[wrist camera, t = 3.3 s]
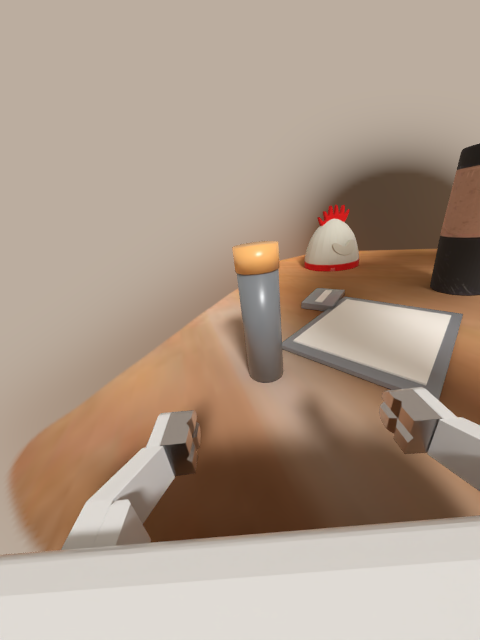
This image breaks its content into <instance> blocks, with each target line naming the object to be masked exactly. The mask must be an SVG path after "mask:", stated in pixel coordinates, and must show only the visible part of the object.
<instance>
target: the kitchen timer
mask: <svg viewBox="0 0 480 640" xmlns="http://www.w3.org/2000/svg"><path fill="white" fill-rule="evenodd" d="M344 208H345V205H342V206H341V209H340V212H338V206H337V205H335V208H334V213H333V209H332V206H329V210H328V215H327V213H326V212H323V215H324V221H322V220H321V218H320V217H318V221H319V224H320V227H319V228H318V229H317V230H316V231H315V233H314V234H313V236H312V238H311V240H310V242H309V245H308V248H307V251H306V255H305V268H307V269H309V270H314V271H340V270H347V269H351V268H354V267H357V266H358V263H359V252H358V247H357V243H356V239H355V236H354V234H353V232H352V230H351V229H350V228H349V227H348V225H347V224H345V223H344V222H345V220H346V218H347V216H348V213H349V210H347V211H346V212H345V214H344V210H345V209H344Z"/></svg>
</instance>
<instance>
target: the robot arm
mask: <svg viewBox="0 0 480 640" xmlns="http://www.w3.org/2000/svg"><path fill="white" fill-rule="evenodd" d="M382 399H383V401H384V402H383V403H382V404H381V405H380V409H379V414H380V419H381V421H382V423H383V425H384V426H385V427H386V429H387V430H389V431H391V432H392V433H394V440H395V442H396V443H397V444H398V446H399V447H400V448H401V450H402V451H403V453H404V454H415V453H427V454H428V455H429V456H431V457H432V458H434V459H435V460H436V461H438V462H439V463H441V464H442V465H443V466H445V467H446V468H448V469H449V470H450V471H452V472H453V473H455V474H456V475H458V476H459V477H460V478H462V479H463V480H465V481H466V482H467V483H469V484H470V485H472V486H473V487H474V488H476V489H477V490H479V491H480V425H478V424H476V423H473V422H471V421H469V420H467V419H465V418H462V417H456V416H455V415H454V414H453V413H452V412H451V411H450V410H449V409H448V408H446V407H445V406H444V405H443V404H442V403H441V402H440V401H439V400H438V399H436V398H435V397H434V396H433V395H432V394H431V393H430V392H429V391H427V390H426V389H425V388H423V387H417V388H409V389H398V390H389V391H384V392H383V393H382ZM196 420H197V415H196V412H195V411H181V412H171V413H161V414H160V415H159V416H158V418H157V421H156V423H155V426H154V428H153V431H152V433H151V436H150V438H149V441H148V444H147V446H146V448H142V449H141V450H140V451H139V452H138V453H137V454H136V455H135V456H134V457H132V458H131V459H130V460H129V461H128V462H127V463H126V464H125V465H124V466H123V467H122V468H121V469H120V470H119V471H118V472H117V473H116V474H115V475H114V476H113V477H112V478H111V479H110V480H109V481H107V482H106V483H105V484H104V485H103V486H102V487H101V488H100V489H99V490H98V491H97V492H96V493H95V494H94V495H93V496H92V497H91V498H90V499H89V500H88V501H87V502H86V503H85V505H84V507H83V509H82V511H81V513H80V515H79V517H78V519H77V520H76V522H75V524H74V526H73V528H72V530H71V532H70V534H69V536H68V537H67V539H66V541H65V543H64V545H63V547H62V549H61V550H55V551H43V552H31V553H19V554H6V555H0V640H480V516H468V517H456V518H443V519H431V520H419V521H407V522H394V523H382V524H370V525H358V526H346V527H333V528H321V529H309V530H297V531H285V532H273V533H261V534H249V535H237V536H225V537H212V538H200V539H188V540H176V541H164V542H152V543H151V539H150V537H149V535H148V533H147V531H146V530H145V528H144V526H143V523H144V522H145V520H146V519H147V517H148V516H149V514H150V513H151V511H152V510H153V509H154V507H155V506H156V504H157V503H158V501H159V500H160V498H161V497H162V495H163V494H164V493H165V491H166V490H167V488H168V487H169V485H170V484H171V482H172V481H173V479H174V478H175V476H178V475H186V474H194V473H196V467H197V461H198V455H197V452H196V451H197V450H198V448H199V447H200V441H201V431H200V426H199V423H197V422H196Z"/></svg>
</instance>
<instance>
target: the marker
mask: <svg viewBox="0 0 480 640" xmlns="http://www.w3.org/2000/svg"><path fill="white" fill-rule="evenodd" d="M232 249H233V257H234V265H235V272H236V273H237V279H238V287H239V295H240V303H241V311H242V319H243V327H244V334H245V342H246V350H247V358H248V366H249V374H250V376H251V378H252V379H254V380H255V381H258V382H262V383H269V382H273V381H276V380H278V379H279V378H280V377H281V376H282V375H283V356H282V335H281V314H280V293H279V272H278V268H279V248H278V242H277V241H262V242H253V243H246V244H241V245H237V246H234V247H232Z"/></svg>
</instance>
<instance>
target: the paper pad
mask: <svg viewBox="0 0 480 640" xmlns="http://www.w3.org/2000/svg"><path fill="white" fill-rule="evenodd" d="M462 316H463V314H459V313H452V312H446V311H439V310H432V309H425V308H419V307H412V306H405V305H398V304H392V303H385V302H378V301H371V300H365V299H358V298H351V297H343V298H342V299H340V300H339V301H338V302H337V304H336V305H335V306H334V308H333V309H327V310H326V311H324V312H323V313H321V314H320V315H319V316H317V317H316V318H315V319H313V320H312V321H311V322H309V323H308V324H307V325H305V326H304V327H302V328H301V329H300V330H298V331H297V332H296V333H294V334H293V335H292V336H290V337H289V338H288V339H286V340H285V341H284V342H282V349H284V350H286V351H289V352H292V353H294V354H297V355H300V356H303V357H305V358H308V359H311V360H313V361H316V362H319V363H321V364H324V365H327V366H329V367H332V368H335V369H337V370H340V371H343V372H345V373H348V374H351V375H354V376H356V377H359V378H362V379H364V380H367V381H370V382H372V383H375V384H378V385H380V386H383V387H386V388H388V389H391V390H398V389H409V388H417V387H423V388H425V389H426V390H427V391H429V392H430V393H431V394H432V395H433V396H434V397H435V398H436V399H438V400H439V398H440V394H441V391H442V387H443V384H444V380H445V377H446V373H447V369H448V366H449V362H450V359H451V355H452V351H453V348H454V344H455V341H456V337H457V334H458V330H459V326H460V323H461V319H462Z"/></svg>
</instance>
